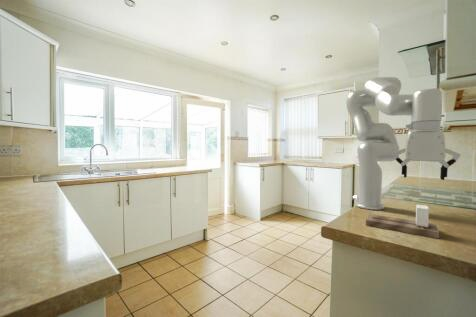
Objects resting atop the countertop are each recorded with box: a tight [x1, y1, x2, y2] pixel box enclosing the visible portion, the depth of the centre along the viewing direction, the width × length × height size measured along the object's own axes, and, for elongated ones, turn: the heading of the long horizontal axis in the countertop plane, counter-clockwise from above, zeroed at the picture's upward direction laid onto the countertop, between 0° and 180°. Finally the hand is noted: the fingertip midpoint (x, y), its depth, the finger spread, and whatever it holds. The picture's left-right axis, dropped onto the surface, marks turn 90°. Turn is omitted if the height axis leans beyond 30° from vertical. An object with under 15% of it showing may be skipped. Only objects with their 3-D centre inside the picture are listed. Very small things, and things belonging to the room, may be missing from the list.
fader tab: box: [415, 204, 430, 227], centre depth 75 cm, size 3×5×6 cm, turn 143°
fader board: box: [365, 213, 440, 239], centre depth 79 cm, size 20×9×2 cm, turn 53°
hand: (423, 178), depth 75 cm, fingers open, 9 cm apart
